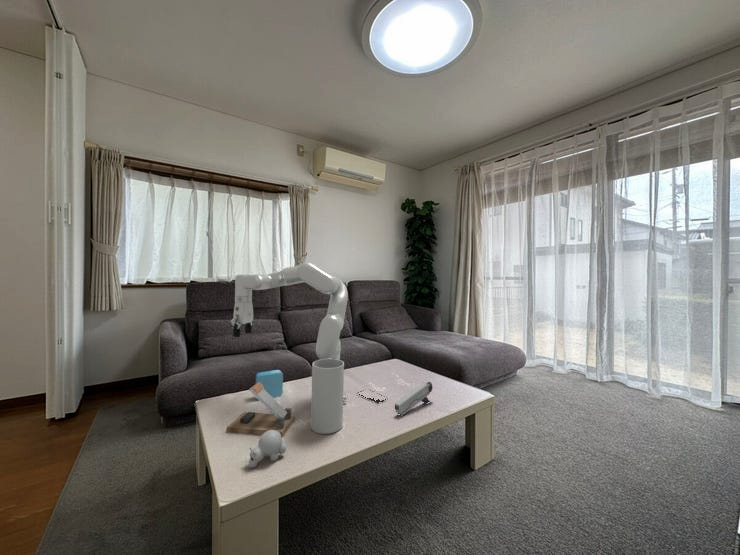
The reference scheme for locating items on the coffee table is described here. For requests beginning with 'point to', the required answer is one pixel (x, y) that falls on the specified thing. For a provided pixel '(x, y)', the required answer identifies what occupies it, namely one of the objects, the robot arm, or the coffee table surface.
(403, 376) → the coffee table surface
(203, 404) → the coffee table surface
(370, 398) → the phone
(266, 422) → the latch base
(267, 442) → the chubby cartoon animal
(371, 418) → the coffee table surface
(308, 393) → the coffee table surface
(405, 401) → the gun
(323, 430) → the cylinder vase
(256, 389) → the latch lever
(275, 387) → the blue rounded block
